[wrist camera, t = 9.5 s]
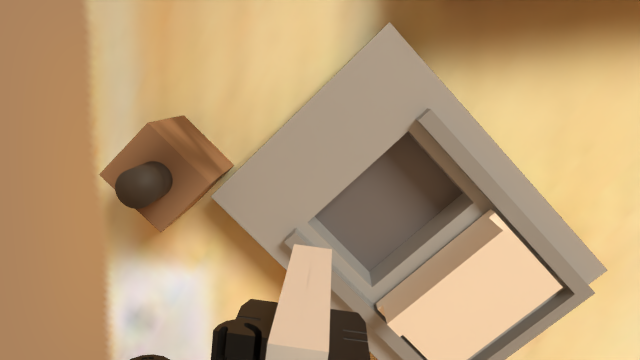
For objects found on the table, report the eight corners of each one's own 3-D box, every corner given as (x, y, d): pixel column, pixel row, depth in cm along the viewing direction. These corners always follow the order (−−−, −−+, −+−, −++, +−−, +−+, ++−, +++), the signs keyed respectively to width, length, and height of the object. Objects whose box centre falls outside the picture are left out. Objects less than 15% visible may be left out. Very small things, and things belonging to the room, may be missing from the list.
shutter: (376, 303, 29) (380, 329, 26) (490, 208, 28) (510, 224, 25) (441, 368, 30) (453, 401, 27) (556, 281, 29) (583, 306, 25)
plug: (143, 157, 31) (74, 184, 23) (184, 115, 30) (126, 126, 22) (193, 205, 32) (142, 247, 24) (234, 165, 31) (196, 194, 23)
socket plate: (222, 186, 31) (206, 200, 28) (384, 28, 29) (391, 19, 25) (417, 378, 34) (428, 416, 30) (582, 253, 31) (617, 276, 28)
